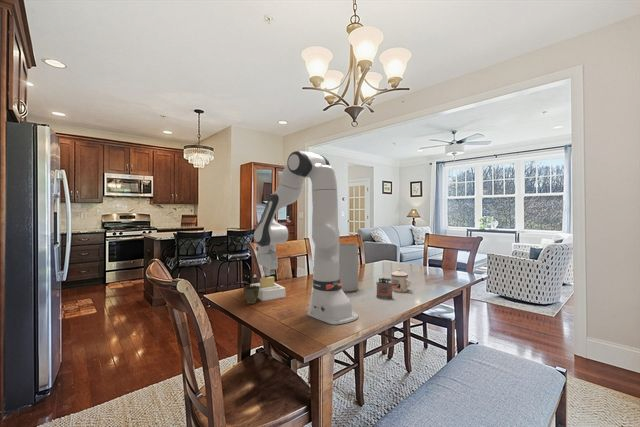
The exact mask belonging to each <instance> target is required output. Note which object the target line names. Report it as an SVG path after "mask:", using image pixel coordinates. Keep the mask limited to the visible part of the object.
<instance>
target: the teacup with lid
mask: <svg viewBox="0 0 640 427" xmlns="http://www.w3.org/2000/svg"><path fill="white" fill-rule="evenodd" d="M390 276H391V278H390V279H391V281H390V283H392V292H395V293H396V292H397V293H404V292H405V293H406V292H408V289H409V288H410V287H411V283H412V282H411V280H410V279H409V278H408V276H409V275H408V273H406V272H404V271H403V270H402V269H401V268H397V270H395V271H393V272H391V274H390Z"/></svg>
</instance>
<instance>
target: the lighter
mask: <svg viewBox="0 0 640 427" xmlns="http://www.w3.org/2000/svg"><path fill="white" fill-rule="evenodd" d="M375 297H376V298H378V299H387V300H392V299H393V290H392V283H391V278H388V277H386V278H385V277H384V276H383V277H378V281H376V296H375Z"/></svg>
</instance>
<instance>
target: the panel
mask: <svg viewBox="0 0 640 427" xmlns="http://www.w3.org/2000/svg"><path fill="white" fill-rule="evenodd" d="M259 283H260V288H267V287H273V286H274V283H275V276H266V277H264V276H263V277H260V278H259Z"/></svg>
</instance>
